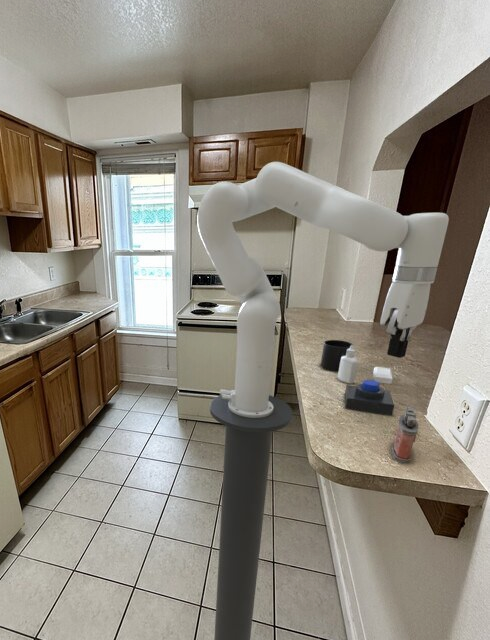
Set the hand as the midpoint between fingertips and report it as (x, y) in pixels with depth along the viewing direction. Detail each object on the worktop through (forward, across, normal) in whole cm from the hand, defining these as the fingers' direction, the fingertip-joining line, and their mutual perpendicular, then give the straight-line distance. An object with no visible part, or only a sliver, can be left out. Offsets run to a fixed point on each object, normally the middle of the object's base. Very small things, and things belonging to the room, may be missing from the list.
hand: (395, 355), depth 83 cm
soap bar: (+18, -31, -17) cm, 40 cm away
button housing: (+18, -8, -8) cm, 21 cm away
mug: (+18, -26, -31) cm, 44 cm away
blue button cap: (+13, -8, -8) cm, 17 cm away
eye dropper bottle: (+18, -19, -22) cm, 34 cm away
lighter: (+18, +9, +10) cm, 23 cm away
